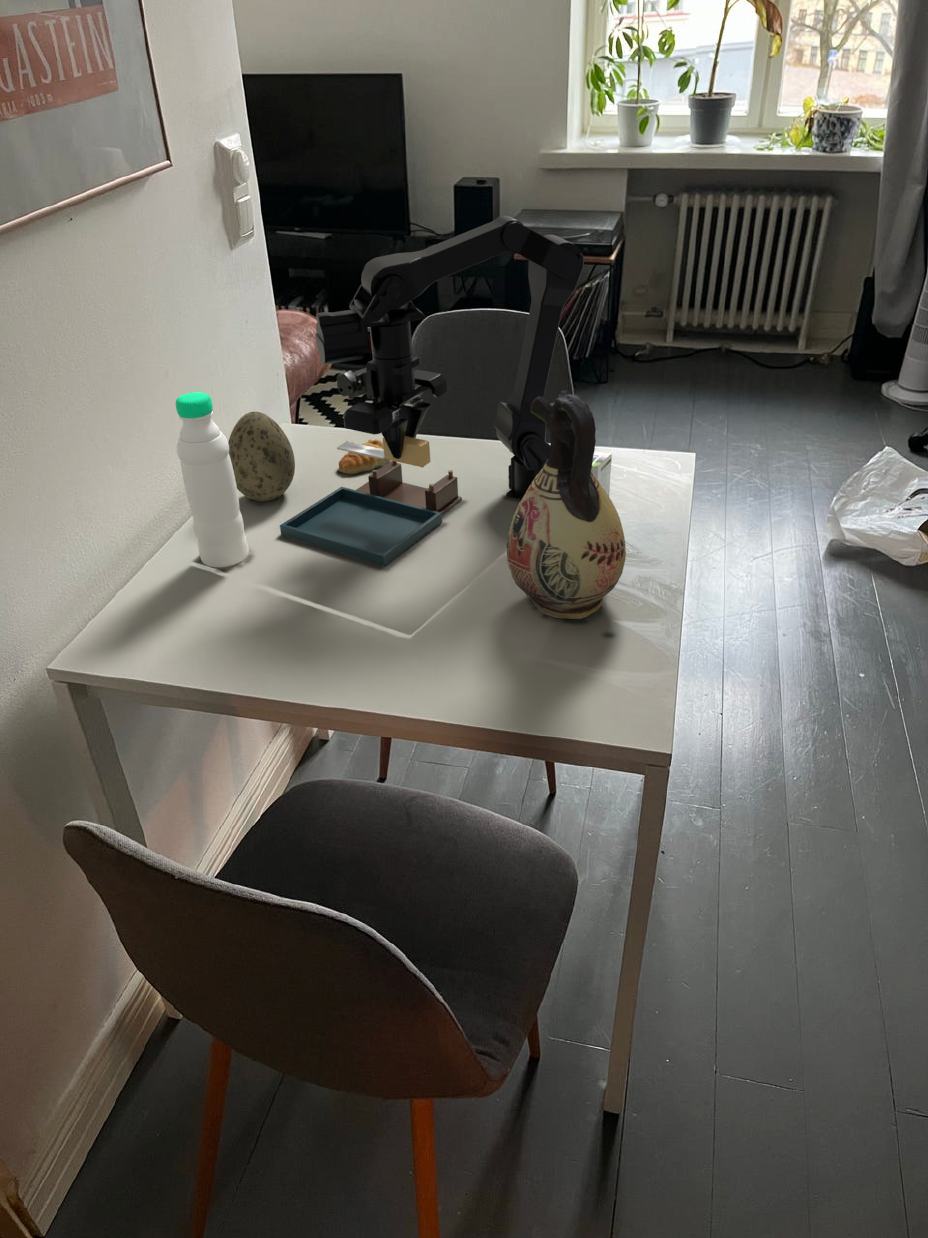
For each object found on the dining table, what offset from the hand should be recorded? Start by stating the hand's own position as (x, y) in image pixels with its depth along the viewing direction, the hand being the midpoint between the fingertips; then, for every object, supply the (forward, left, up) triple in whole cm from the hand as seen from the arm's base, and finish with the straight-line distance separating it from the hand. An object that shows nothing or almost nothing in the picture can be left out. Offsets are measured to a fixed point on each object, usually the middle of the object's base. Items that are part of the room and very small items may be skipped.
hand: (401, 454), depth 141 cm
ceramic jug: (-33, +10, -11) cm, 37 cm away
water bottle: (+17, +23, -11) cm, 31 cm away
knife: (+4, 0, -1) cm, 4 cm away
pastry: (+18, -13, -11) cm, 24 cm away
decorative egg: (+25, +5, -11) cm, 27 cm away
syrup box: (-28, -5, -11) cm, 31 cm away
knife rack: (+4, -5, -11) cm, 13 cm away
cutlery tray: (+4, +7, -11) cm, 13 cm away
